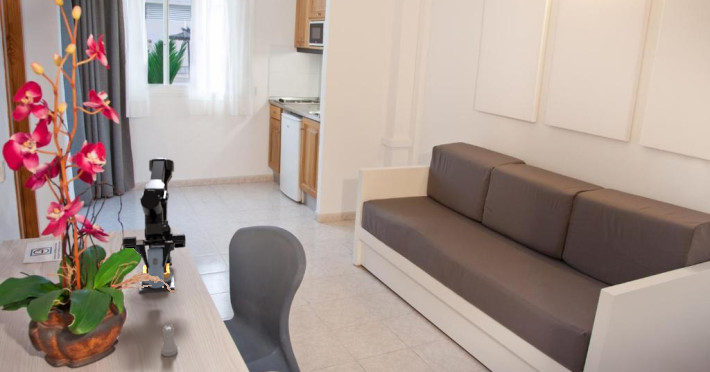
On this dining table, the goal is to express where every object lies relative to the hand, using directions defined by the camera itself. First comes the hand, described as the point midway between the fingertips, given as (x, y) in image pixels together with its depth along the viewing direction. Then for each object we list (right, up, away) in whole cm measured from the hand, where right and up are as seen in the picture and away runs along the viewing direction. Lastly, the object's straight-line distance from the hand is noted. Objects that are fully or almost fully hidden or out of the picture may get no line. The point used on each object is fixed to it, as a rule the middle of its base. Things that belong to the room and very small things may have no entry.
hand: (155, 267), depth 179 cm
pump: (-1, -6, +3) cm, 7 cm away
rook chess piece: (+11, -21, -21) cm, 31 cm away
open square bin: (-5, -8, +16) cm, 19 cm away
